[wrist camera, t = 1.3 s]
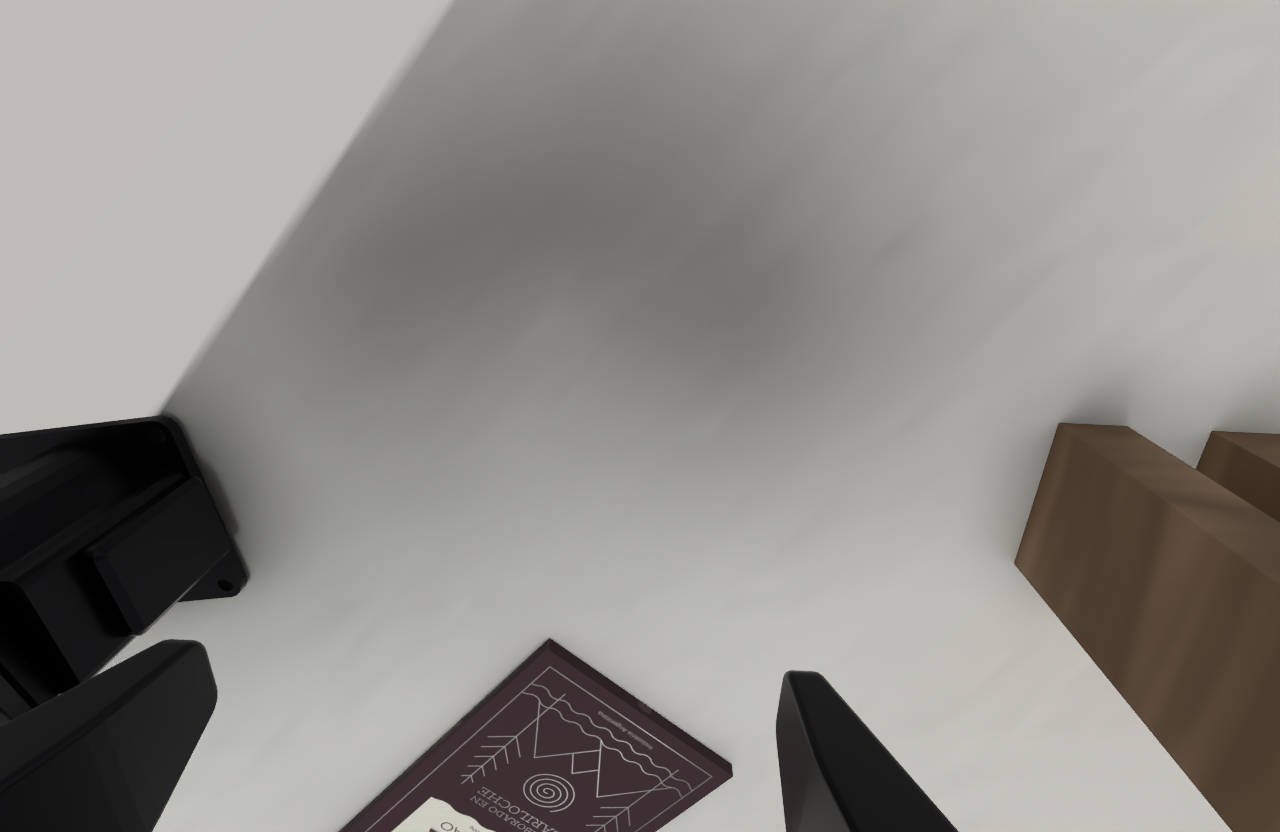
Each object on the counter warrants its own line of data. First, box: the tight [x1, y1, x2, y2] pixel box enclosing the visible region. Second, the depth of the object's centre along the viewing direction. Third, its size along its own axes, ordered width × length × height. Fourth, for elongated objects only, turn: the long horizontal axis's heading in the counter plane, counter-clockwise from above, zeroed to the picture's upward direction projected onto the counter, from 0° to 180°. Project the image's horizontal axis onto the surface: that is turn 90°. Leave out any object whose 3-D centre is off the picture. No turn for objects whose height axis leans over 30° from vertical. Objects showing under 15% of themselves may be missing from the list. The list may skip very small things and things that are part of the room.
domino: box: [1014, 423, 1280, 832], centre depth 16 cm, size 2×5×10 cm, turn 178°
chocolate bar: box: [339, 638, 733, 832], centre depth 27 cm, size 9×1×18 cm
